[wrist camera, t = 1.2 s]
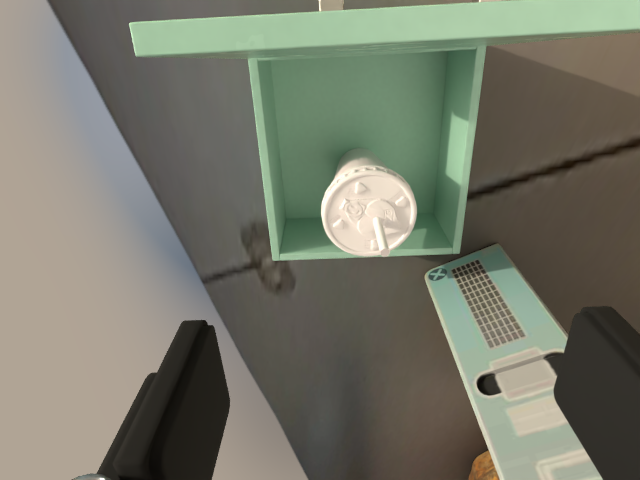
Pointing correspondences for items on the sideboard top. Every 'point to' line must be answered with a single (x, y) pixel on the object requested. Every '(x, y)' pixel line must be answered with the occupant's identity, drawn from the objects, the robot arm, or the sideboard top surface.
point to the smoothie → (367, 206)
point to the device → (509, 365)
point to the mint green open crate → (366, 138)
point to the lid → (384, 28)
